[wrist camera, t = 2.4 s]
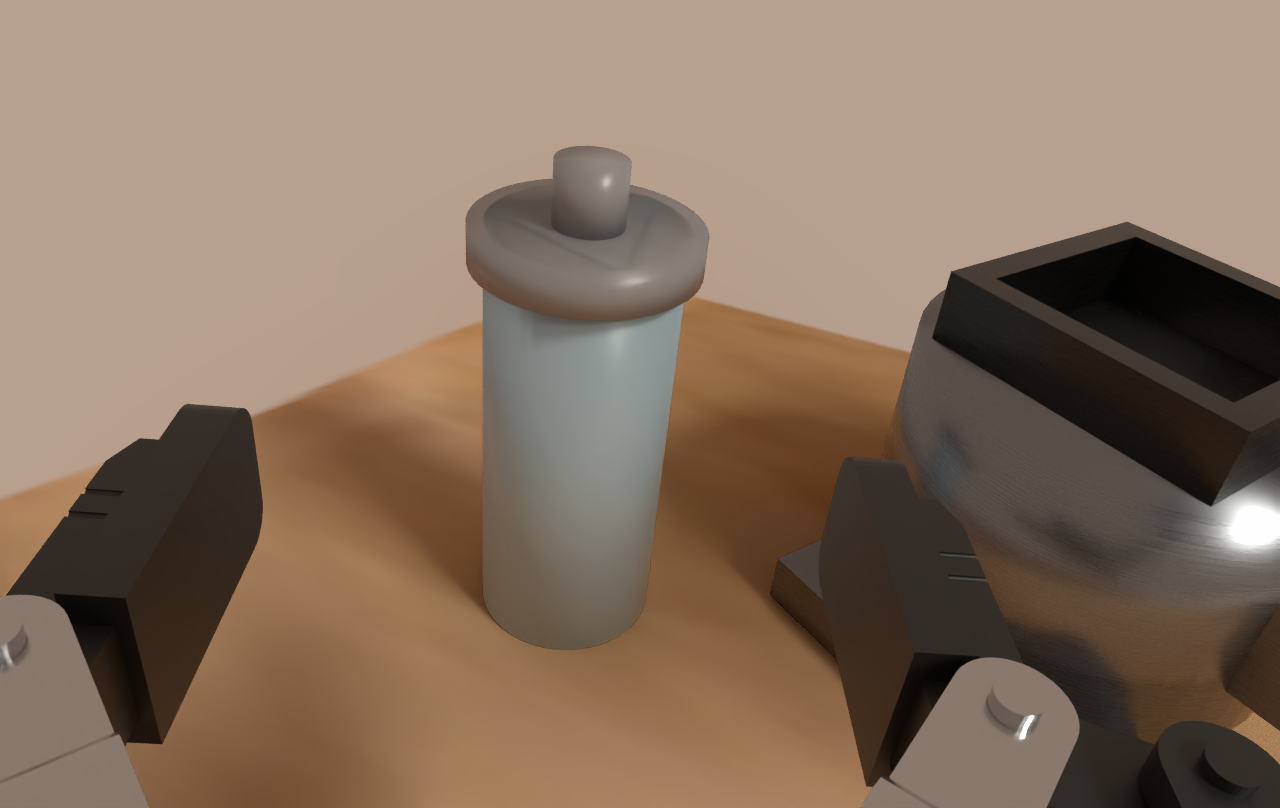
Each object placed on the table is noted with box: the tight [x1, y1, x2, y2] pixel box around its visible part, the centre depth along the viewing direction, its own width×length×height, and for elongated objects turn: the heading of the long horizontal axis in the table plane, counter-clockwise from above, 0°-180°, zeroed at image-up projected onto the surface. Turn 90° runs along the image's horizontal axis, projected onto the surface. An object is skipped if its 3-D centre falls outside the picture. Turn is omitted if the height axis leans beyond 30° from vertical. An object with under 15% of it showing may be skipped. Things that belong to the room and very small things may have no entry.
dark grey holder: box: [770, 222, 1280, 744], centre depth 27 cm, size 14×14×11 cm
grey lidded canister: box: [466, 146, 709, 650], centre depth 27 cm, size 6×6×14 cm
